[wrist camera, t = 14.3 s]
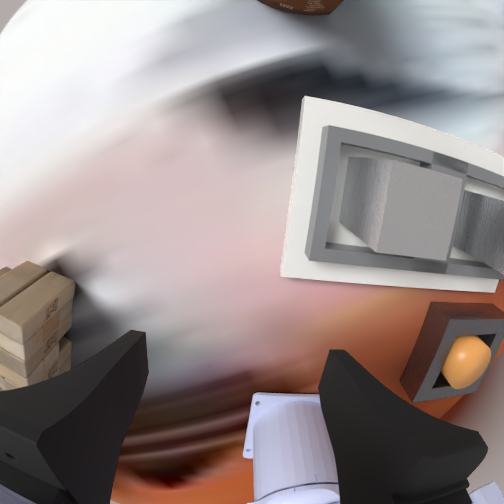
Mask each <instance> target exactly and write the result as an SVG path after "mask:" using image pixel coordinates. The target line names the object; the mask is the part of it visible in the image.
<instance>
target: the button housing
mask: <svg viewBox="0 0 504 504" xmlns="http://www.w3.org/2000/svg"><path fill="white" fill-rule="evenodd" d="M468 335H477V336H478V337H479V338H480V339H481V340H482V341H483V342H484V343H485V344H486V345H487V346H488V347H489V348H490V350H491V358H490V362H489V364H488V366H487V368H486V370H485V371H484V373H483V374H482V375H481V376H480V377H479V378H478V379H477V380H476V381H475V382H474V383H472V384H471V385H469V386H468V387H465V388H463V389H454V388H453V387H452V386H451V385H450V383H449V382H448V381H447V379H446V378H445V377H444V375H443V374H442V373H441V369H442V367H443V365H444V363H445V361H446V359H447V356H448V354H449V352H450V350H451V347H452V345H453V343H454V340H455V338H456V336H468ZM503 337H504V312H503V311H501V310H500V309H499V308H497V307H496V306H495V305H494V304H479V303H447V302H431V303H430V306H429V309H428V312H427V315H426V318H425V320H424V323H423V326H422V329H421V331H420V334H419V337H418V339H417V342H416V344H415V347H414V349H413V352H412V354H411V356H410V359H409V361H408V364H407V366H406V368H405V370H404V373H403V375H402V377H401V379H400V382H401V384H402V386H403V388H404V389H405V391H406V393H407V394H408V396H409V398H410V400H411V401H412V403H414V402H421V401H428V400H435V399H441V398H447V397H453V396H458V395H463V394H468V393H473V392H476V390H477V389H478V387H479V385H480V383H481V381H482V380H483V378H484V376H485V374H486V372H487V370H488V369H489V367H490V365H491V363H492V361H493V359H494V357H495V355H496V352H497V350H498V348H499V346H500V344H501V342H502V340H503Z"/></svg>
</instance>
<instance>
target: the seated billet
mask: <svg viewBox="0 0 504 504" xmlns="http://www.w3.org/2000/svg"><path fill="white" fill-rule="evenodd" d="M453 246H455V247H457V248H459V249H461V250H462V251H464V252H466V253H468V254H469V255H471V256H473V257H475V258H476V259H478V260H480V261H482V262H483V263H485V264H487V265H488V266H490V267H492V268H493V269H495V270H497V271H498V272H500V273H502V274H503V275H504V201H502V200H499V199H496V198H492V197H489V196H485V195H481V194H478V193H474V192H470V191H466V190H464V195H463V201H462V206H461V211H460V216H459V221H458V226H457V230H456V235H455V239H454V243H453Z"/></svg>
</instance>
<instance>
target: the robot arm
mask: <svg viewBox="0 0 504 504" xmlns="http://www.w3.org/2000/svg"><path fill="white" fill-rule="evenodd" d="M148 373H149V370H148V359H147V347H146V332H141V331H135V330H130V331H129V332H127V333H126V334H124V335H123V336H122V337H120V338H119V339H117V340H116V341H115V342H113V343H112V344H111V345H109V346H108V347H106V348H105V349H103V350H102V351H101V352H99V353H98V354H96V355H94V356H93V357H91V358H90V359H88V360H86V361H85V362H83V363H81V364H80V365H78V366H76V367H74V368H72V369H70V370H68V371H66V372H64V373H62V374H60V375H58V376H55V377H52V378H50V379H47V380H44V381H42V382H39V383H36V384H32V385H29V386H25V387H21V388H17V389H11V390H5V391H0V504H110V498H111V493H112V487H113V481H114V476H115V472H116V467H117V463H118V459H119V455H120V451H121V447H122V444H123V440H124V438H125V435H126V432H127V430H128V427H129V425H130V423H131V420H132V418H133V416H134V413H135V411H136V409H137V406H138V404H139V401H140V399H141V397H142V394H143V391H144V388H145V384H146V380H147V377H148ZM318 389H319V394H282V393H262V392H258V393H255V394H254V395H253V398H252V404H251V410H250V416H249V421H248V427H247V433H246V438H245V444H244V450H243V457H245V458H253V471H254V502H251V503H247V504H504V496H503V494H502V492H501V491H500V489H499V487H498V485H497V483H496V482H495V481H493V482H491V483H488V484H486V485H484V486H482V487H480V488H478V489H476V490H474V491H472V492H471V493H470V494H468V493H467V490H466V488H468V487H469V482H468V480H467V477H468V476H469V475H470V474H471V473H472V472H473V471H474V470H475V469H476V468H477V467H478V465H479V464H480V463H481V462H482V461H483V459H484V458H485V456H486V454H487V451H488V447H487V445H486V443H485V442H484V441H483V439H482V437H481V435H480V434H479V432H477V431H474V430H470V429H466V428H463V427H459V426H456V425H453V424H450V423H448V422H445V421H442V420H440V419H438V418H435V417H433V416H431V415H429V414H427V413H425V412H423V411H421V410H419V409H418V408H416V407H414V406H412V405H411V404H409V403H408V402H406V401H405V400H403V399H401V398H400V397H399V396H397V395H396V394H394V393H393V392H392V391H391V390H389V389H388V388H387V387H385V386H384V385H383V384H382V383H381V382H379V381H378V380H377V379H376V378H375V377H374V376H372V375H371V374H370V373H369V372H368V371H367V370H366V369H365V368H364V367H363V366H362V365H360V364H359V363H358V362H357V361H356V360H355V359H354V358H353V357H352V356H351V355H350V354H349V353H347V352H346V351H345V350H331V349H330V351H329V354H328V358H327V361H326V364H325V368H324V371H323V374H322V377H321V381H320V384H319V387H318ZM258 401H259V402H258Z"/></svg>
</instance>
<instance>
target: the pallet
mask: <svg viewBox="0 0 504 504" xmlns="http://www.w3.org/2000/svg"><path fill="white" fill-rule="evenodd" d="M348 156H349V157H364V158H377V159H389V160H395V161H399V162H403V163H407V164H411V165H415V166H419V167H423V168H426V169H430V170H434V171H437V172H441V173H444V174H448V175H451V176H454V177H458V178H461V179H463V180H462V186H461V192H460V198H459V204H458V209H457V214H456V219H455V224H454V228H453V233H452V237H451V241H450V246H449V250H448V253H447V257H446V261H443V260H435V259H427V258H419V257H411V256H402V255H394V254H386V253H377V252H375V251H374V250H372V249H371V248H370V247H369V246H368V245H366V244H365V243H364V242H363V241H362V240H360V239H359V238H358V237H357V236H356V235H354V234H353V233H352V232H351V231H349V230H348V229H347V228H346V227H344V226H343V225H342V224H341V223H339V216H340V210H341V204H342V198H343V192H344V185H345V178H346V171H347V164H348ZM464 190H466V191H470V192H474V193H478V194H481V195H485V196H489V197H492V198H496V199H499V200H502V201H504V157H503V156H501V155H499V154H497V153H494V152H492V151H490V150H488V149H485V148H483V147H481V146H478V145H476V144H473V143H471V142H468V141H466V140H463V139H461V138H458V137H456V136H453V135H450V134H448V133H445V132H442V131H439V130H436V129H433V128H431V127H428V126H425V125H421V124H418V123H415V122H412V121H409V120H405V119H402V118H399V117H395V116H392V115H388V114H384V113H381V112H377V111H373V110H369V109H365V108H361V107H357V106H352V105H348V104H343V103H339V102H334V101H329V100H324V99H319V98H313V97H307V96H305V97H304V98H303V99H302V106H301V115H300V123H299V132H298V140H297V148H296V156H295V164H294V172H293V180H292V187H291V195H290V202H289V209H288V216H287V224H286V231H285V237H284V244H283V251H282V258H281V265H280V274H281V277H292V278H303V279H314V280H325V281H337V282H348V283H361V284H373V285H386V286H399V287H413V288H427V289H442V290H457V291H474V292H491V293H495V290H496V287H497V284H498V281H499V280H504V275H503V274H502V273H500V272H498V271H497V270H495V269H493V268H492V267H490V266H488V265H487V264H485V263H483V262H482V261H480V260H478V259H476V258H475V257H473V256H471V255H469V254H468V253H466V252H464V251H462V250H461V249H459V248H457V247H455V246H453V243H454V239H455V235H456V230H457V226H458V221H459V216H460V211H461V206H462V201H463V195H464Z"/></svg>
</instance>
